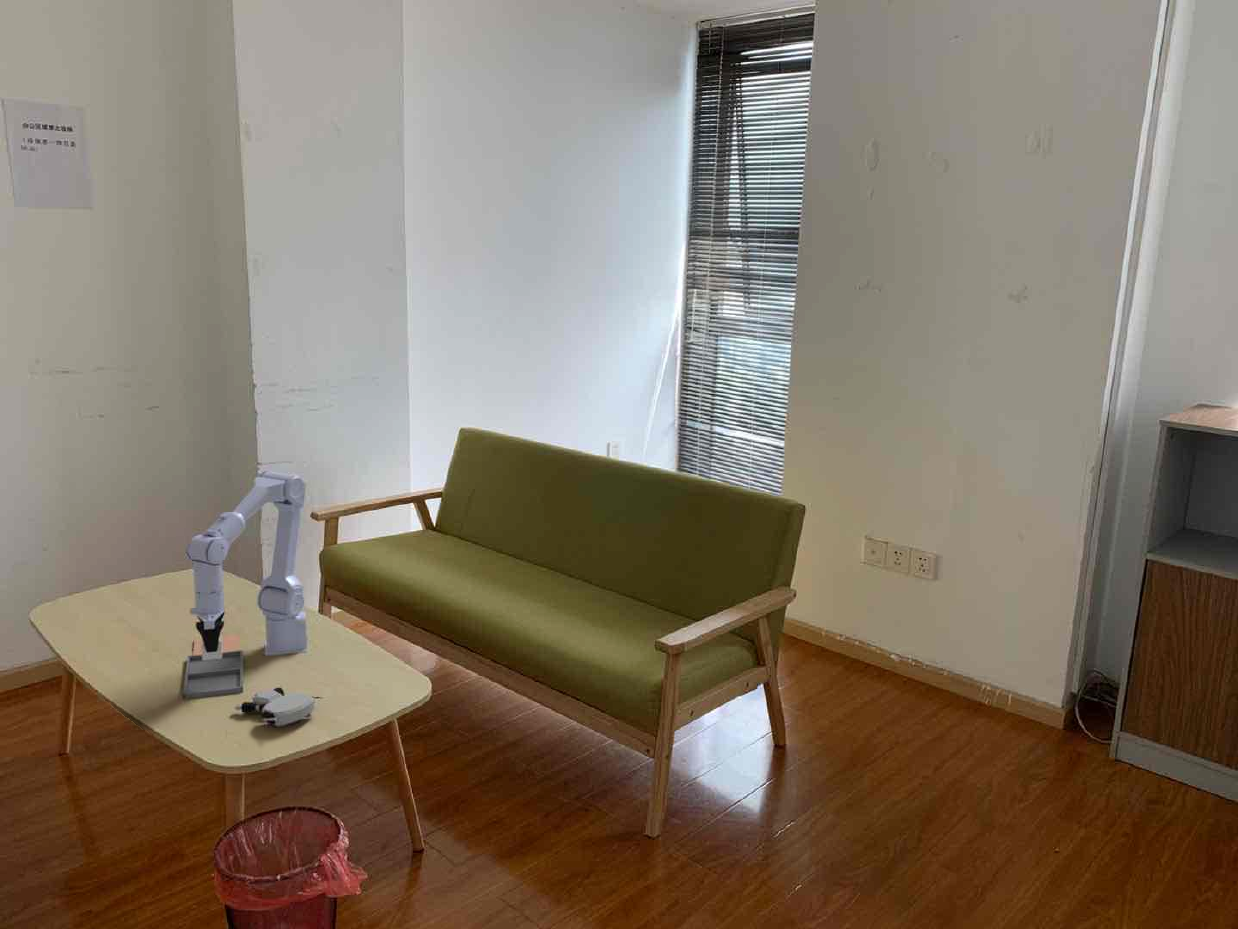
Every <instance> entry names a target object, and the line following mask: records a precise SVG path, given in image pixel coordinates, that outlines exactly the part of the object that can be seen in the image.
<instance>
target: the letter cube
mask: <svg viewBox="0 0 1238 929" xmlns="http://www.w3.org/2000/svg"><path fill="white" fill-rule="evenodd" d="M222 636H223V635H222V634H221V633H220V636H219V643H218V649H217V651H216V652H208V653H207V652H206V649H205V646H204V642H203V639H202V642H201V646H202V660H211V659H221V658H222Z"/></svg>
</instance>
